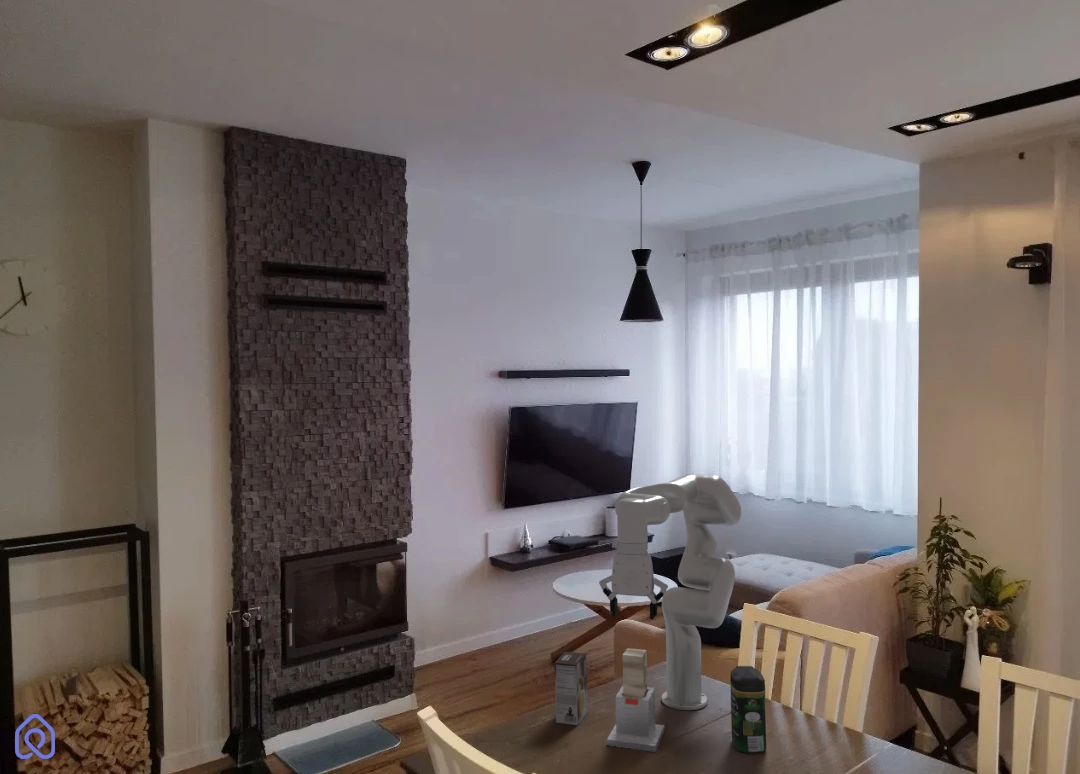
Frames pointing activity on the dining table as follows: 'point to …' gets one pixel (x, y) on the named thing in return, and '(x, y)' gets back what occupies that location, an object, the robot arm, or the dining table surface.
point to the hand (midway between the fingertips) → (633, 616)
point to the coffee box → (571, 688)
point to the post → (635, 673)
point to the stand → (636, 723)
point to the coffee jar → (748, 710)
